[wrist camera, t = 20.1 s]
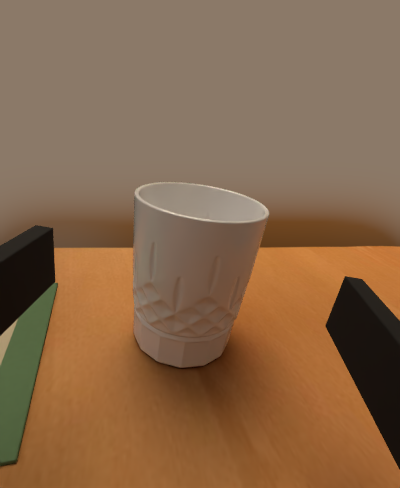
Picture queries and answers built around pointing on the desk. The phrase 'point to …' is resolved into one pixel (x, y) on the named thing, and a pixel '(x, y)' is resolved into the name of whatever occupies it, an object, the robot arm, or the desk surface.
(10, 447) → the cloth
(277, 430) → the desk surface
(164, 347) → the white cup
